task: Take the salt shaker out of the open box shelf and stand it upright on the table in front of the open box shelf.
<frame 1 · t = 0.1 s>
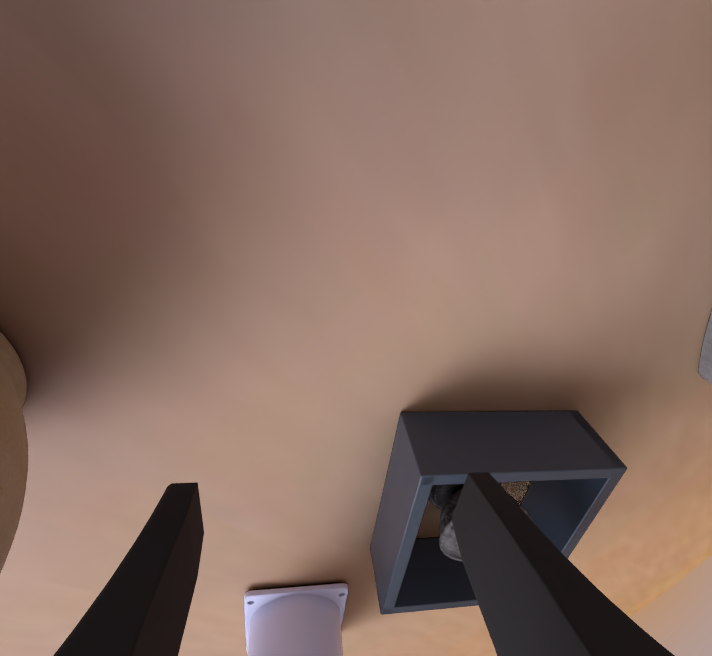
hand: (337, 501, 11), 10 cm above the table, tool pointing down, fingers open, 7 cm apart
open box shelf: (464, 485, 28), on the table
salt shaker: (463, 482, 28), resting in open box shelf
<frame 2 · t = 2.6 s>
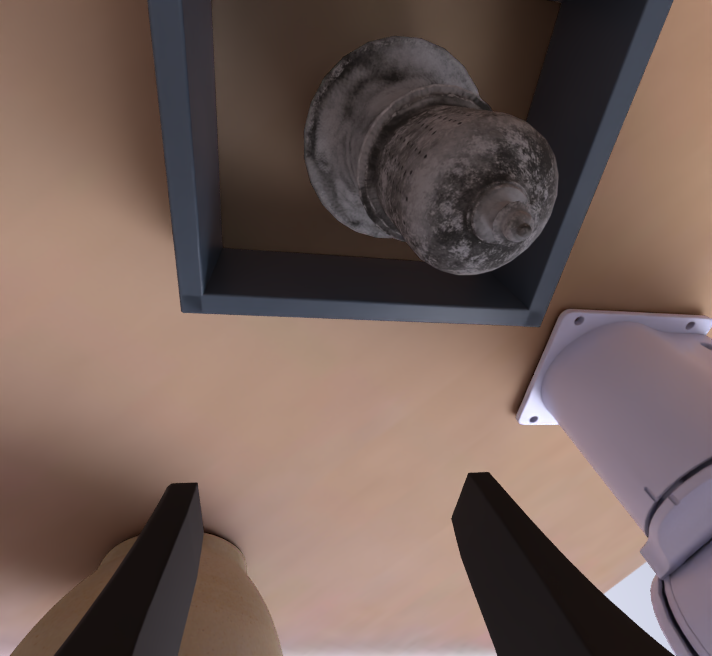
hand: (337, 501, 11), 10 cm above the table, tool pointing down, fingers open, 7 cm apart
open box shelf: (376, 136, 16), on the table
planter bowl: (179, 563, 29), on the table
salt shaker: (375, 135, 16), resting in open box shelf
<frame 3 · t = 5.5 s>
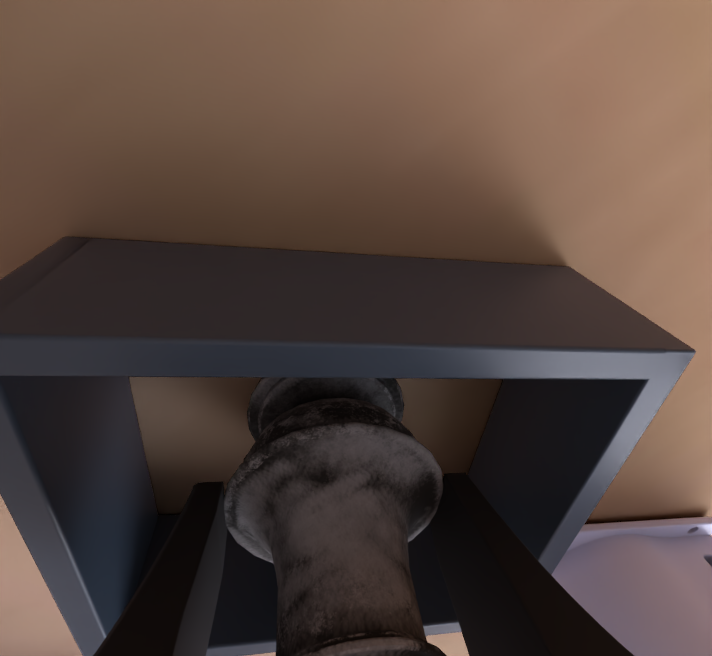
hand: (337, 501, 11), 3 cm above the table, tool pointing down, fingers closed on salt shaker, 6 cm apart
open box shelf: (327, 413, 14), on the table
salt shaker: (326, 410, 14), resting in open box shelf, touching gripper
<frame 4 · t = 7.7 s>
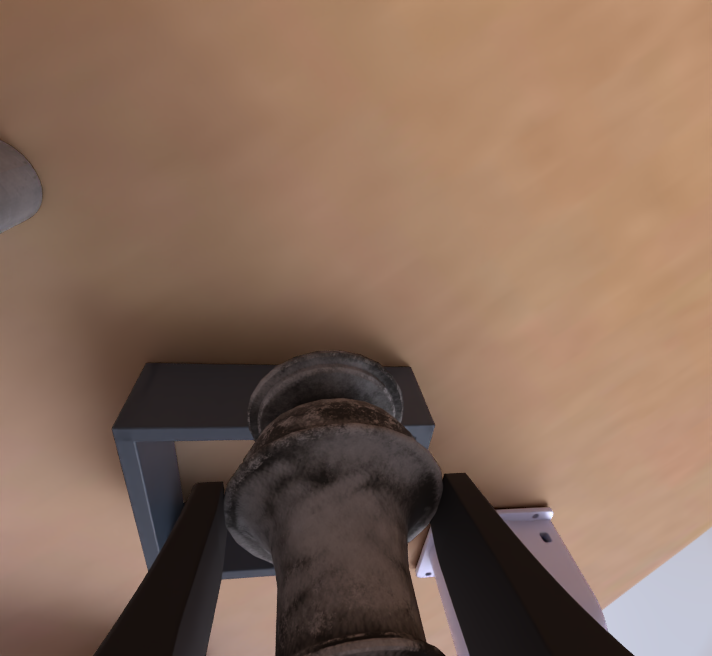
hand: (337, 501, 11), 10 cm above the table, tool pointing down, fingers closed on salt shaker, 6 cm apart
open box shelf: (282, 443, 24), on the table
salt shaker: (326, 410, 14), point 7 cm above the table, touching gripper
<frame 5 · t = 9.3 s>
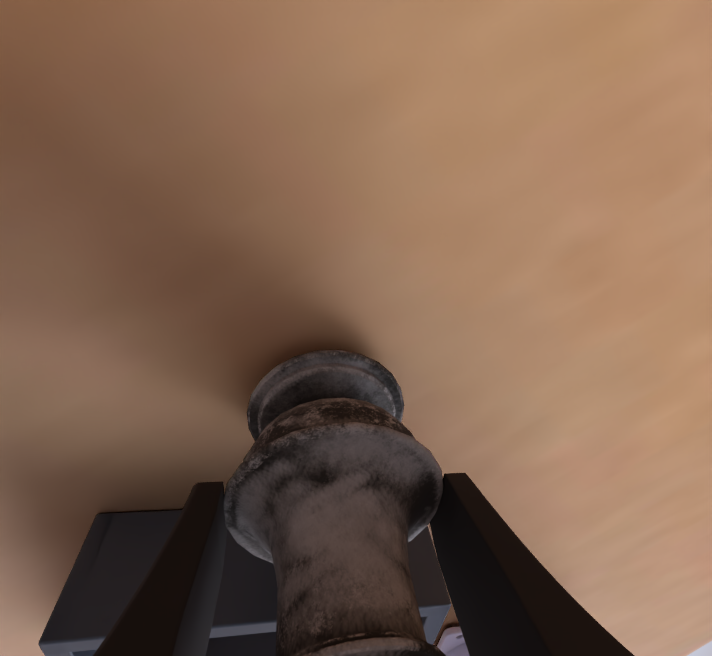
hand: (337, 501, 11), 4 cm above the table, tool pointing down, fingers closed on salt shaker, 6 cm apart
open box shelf: (268, 577, 20), on the table
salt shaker: (326, 410, 14), point 1 cm above the table, touching gripper
when the fingers open (3 cm above the table, at t = 10.2 s): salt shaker stays where it is, on the table.
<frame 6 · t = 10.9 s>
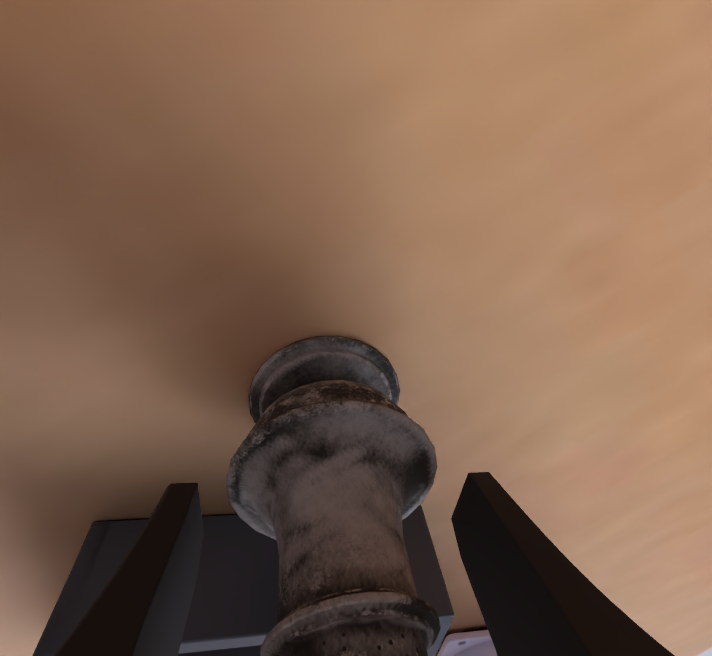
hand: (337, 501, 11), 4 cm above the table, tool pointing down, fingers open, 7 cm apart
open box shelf: (267, 585, 20), on the table
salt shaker: (325, 395, 14), on the table
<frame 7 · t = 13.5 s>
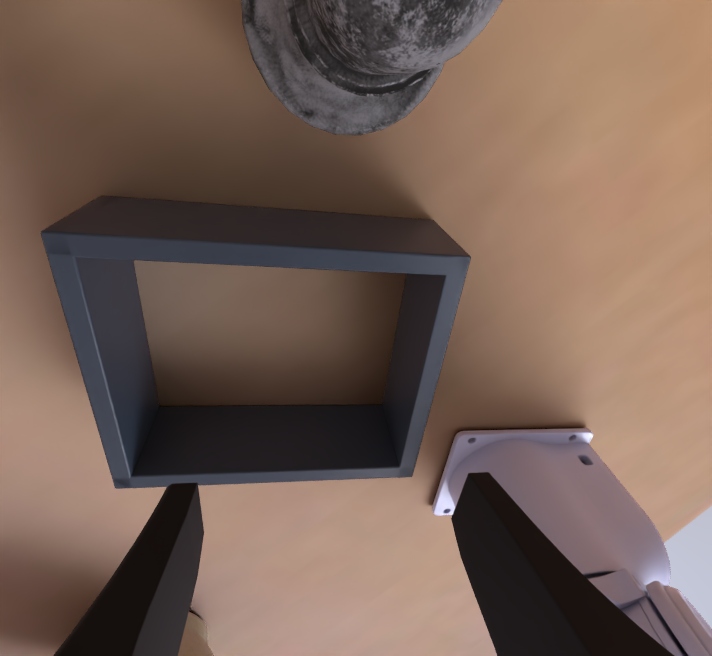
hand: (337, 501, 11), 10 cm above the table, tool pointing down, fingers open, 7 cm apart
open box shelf: (277, 327, 20), on the table
planter bowl: (148, 628, 33), on the table
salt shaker: (338, 31, 14), on the table
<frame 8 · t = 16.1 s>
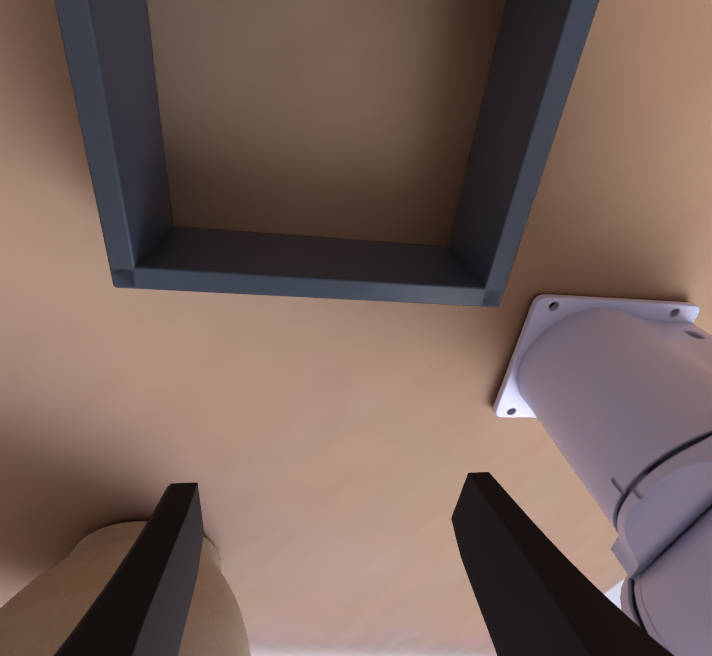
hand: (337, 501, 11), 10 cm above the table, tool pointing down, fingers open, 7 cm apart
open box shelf: (326, 107, 15), on the table
planter bowl: (153, 556, 28), on the table
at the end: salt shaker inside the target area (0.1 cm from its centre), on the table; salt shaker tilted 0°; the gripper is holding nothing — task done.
